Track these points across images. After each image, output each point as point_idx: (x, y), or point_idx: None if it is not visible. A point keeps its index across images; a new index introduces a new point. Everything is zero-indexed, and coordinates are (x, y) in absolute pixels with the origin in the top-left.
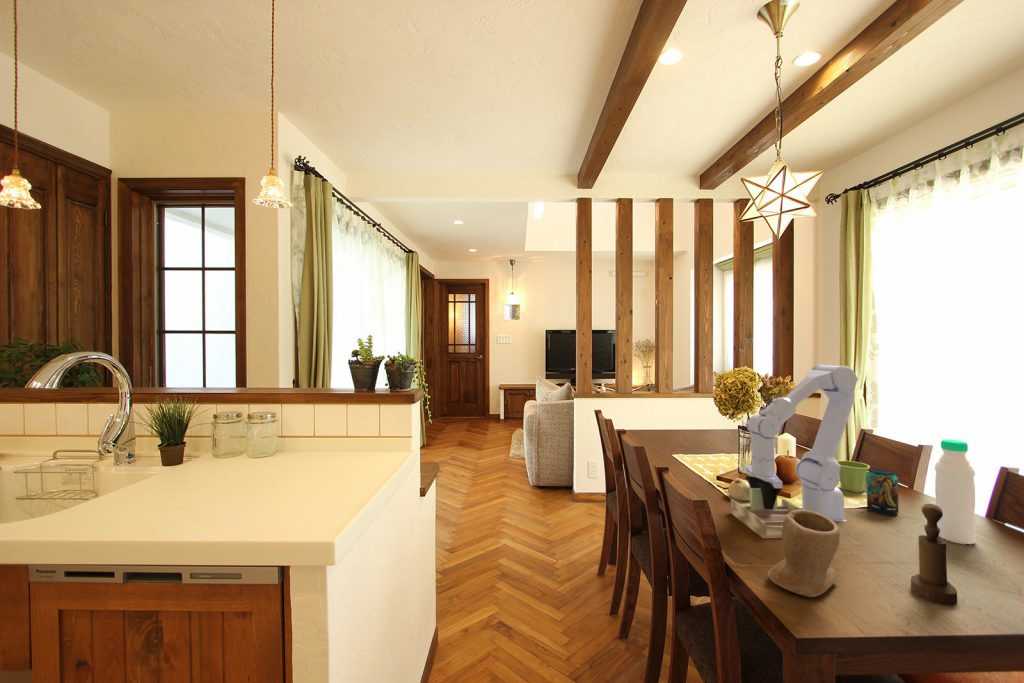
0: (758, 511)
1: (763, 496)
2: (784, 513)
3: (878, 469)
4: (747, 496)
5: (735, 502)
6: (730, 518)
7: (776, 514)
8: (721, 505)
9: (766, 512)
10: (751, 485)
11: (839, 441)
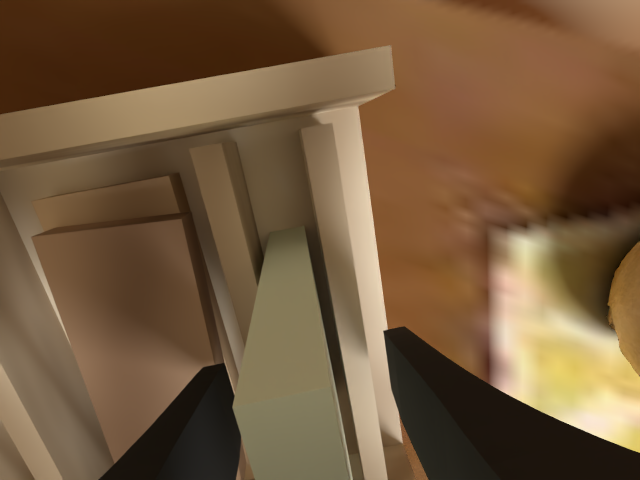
0: (230, 294)
1: (128, 474)
2: None
3: None
4: (634, 318)
5: (268, 72)
6: (272, 50)
7: None
8: (569, 71)
9: None
10: (488, 461)
11: None
